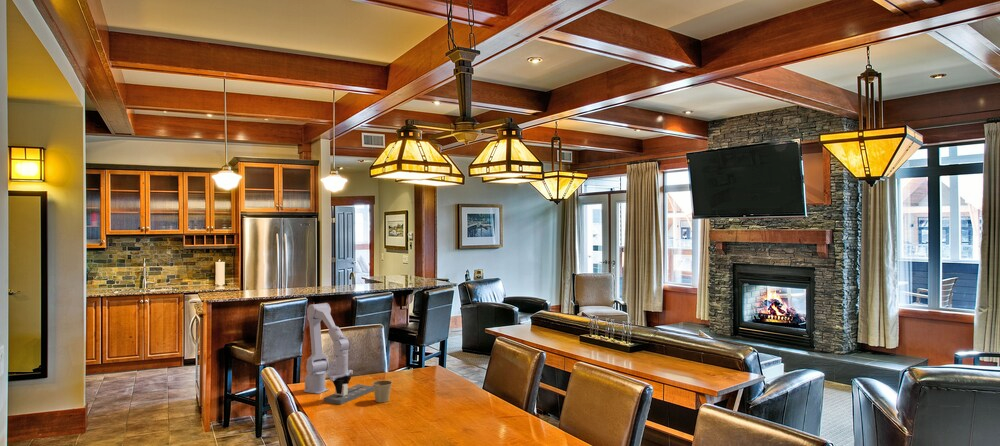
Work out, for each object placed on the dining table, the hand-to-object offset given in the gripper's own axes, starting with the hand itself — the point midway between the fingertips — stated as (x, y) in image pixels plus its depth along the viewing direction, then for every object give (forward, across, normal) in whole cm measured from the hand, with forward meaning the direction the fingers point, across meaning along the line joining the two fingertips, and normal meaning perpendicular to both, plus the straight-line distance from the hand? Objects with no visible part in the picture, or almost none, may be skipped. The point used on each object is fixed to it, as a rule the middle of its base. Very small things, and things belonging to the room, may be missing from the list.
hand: (341, 392), depth 274 cm
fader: (+1, 0, 0) cm, 1 cm away
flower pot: (+4, +6, -19) cm, 20 cm away
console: (+3, +6, 0) cm, 7 cm away
